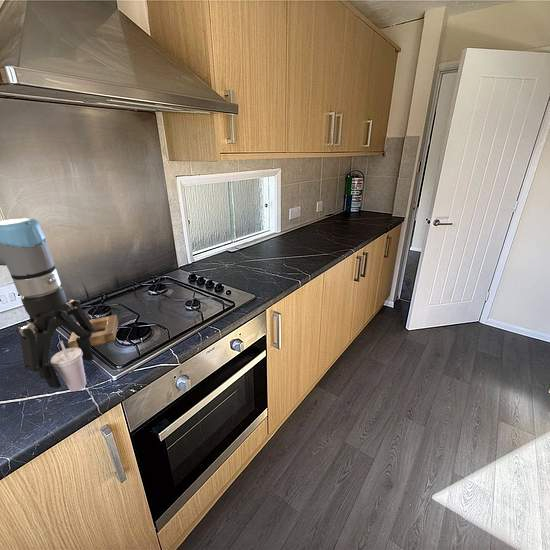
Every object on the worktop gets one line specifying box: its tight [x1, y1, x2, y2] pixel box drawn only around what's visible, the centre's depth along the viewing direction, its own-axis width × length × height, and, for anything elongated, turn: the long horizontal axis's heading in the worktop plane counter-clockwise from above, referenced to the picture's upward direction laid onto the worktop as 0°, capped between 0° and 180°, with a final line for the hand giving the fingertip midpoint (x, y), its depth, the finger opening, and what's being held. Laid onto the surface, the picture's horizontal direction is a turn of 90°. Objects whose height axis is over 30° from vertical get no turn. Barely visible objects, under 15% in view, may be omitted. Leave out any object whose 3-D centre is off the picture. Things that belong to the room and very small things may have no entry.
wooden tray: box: [67, 314, 119, 348], centre depth 95 cm, size 12×12×3 cm
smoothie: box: [50, 340, 87, 392], centre depth 72 cm, size 6×6×14 cm
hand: (72, 372), depth 73 cm, fingers open, 9 cm apart
